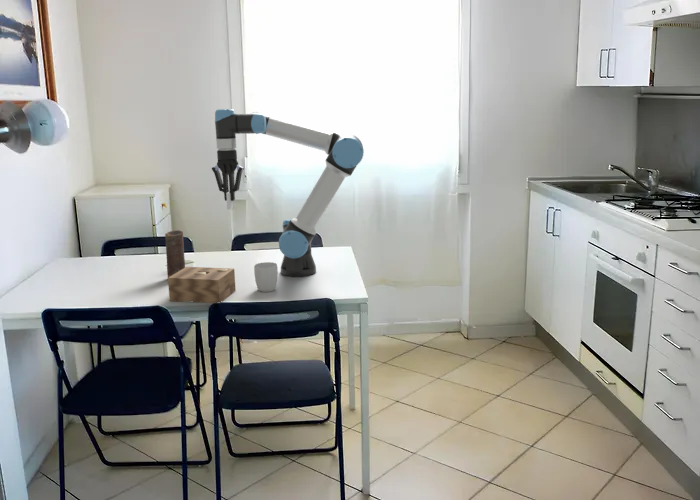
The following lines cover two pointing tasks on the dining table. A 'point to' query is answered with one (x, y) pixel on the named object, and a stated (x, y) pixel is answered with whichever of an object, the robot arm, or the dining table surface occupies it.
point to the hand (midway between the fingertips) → (230, 208)
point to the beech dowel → (200, 273)
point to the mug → (266, 276)
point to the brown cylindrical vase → (174, 252)
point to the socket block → (202, 284)
